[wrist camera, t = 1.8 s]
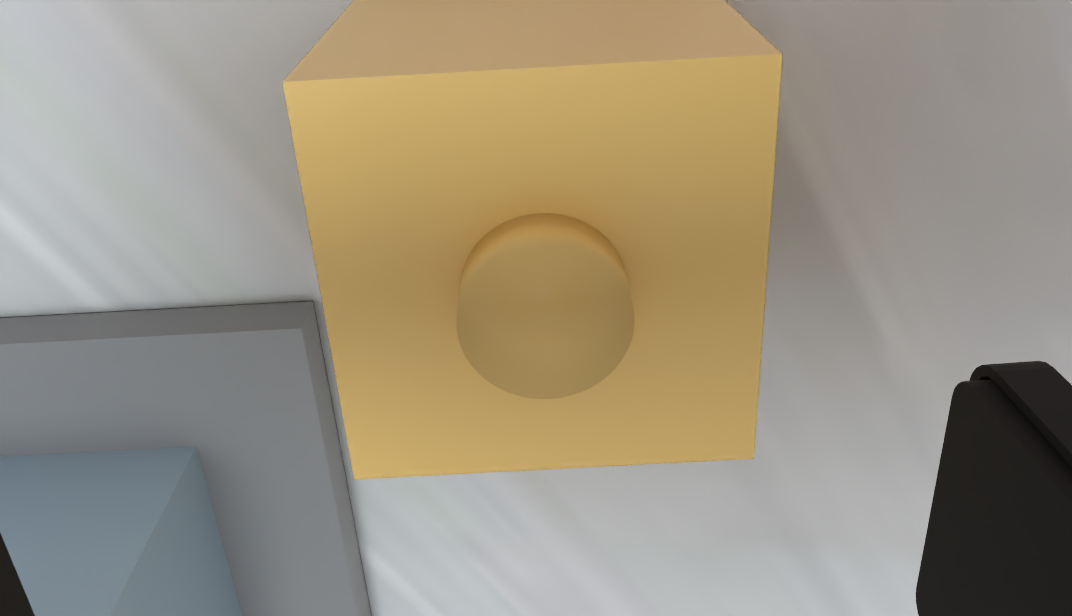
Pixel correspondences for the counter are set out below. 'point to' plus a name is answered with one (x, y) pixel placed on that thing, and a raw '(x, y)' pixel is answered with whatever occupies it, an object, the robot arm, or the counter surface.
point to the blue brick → (115, 534)
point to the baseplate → (205, 430)
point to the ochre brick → (540, 229)
